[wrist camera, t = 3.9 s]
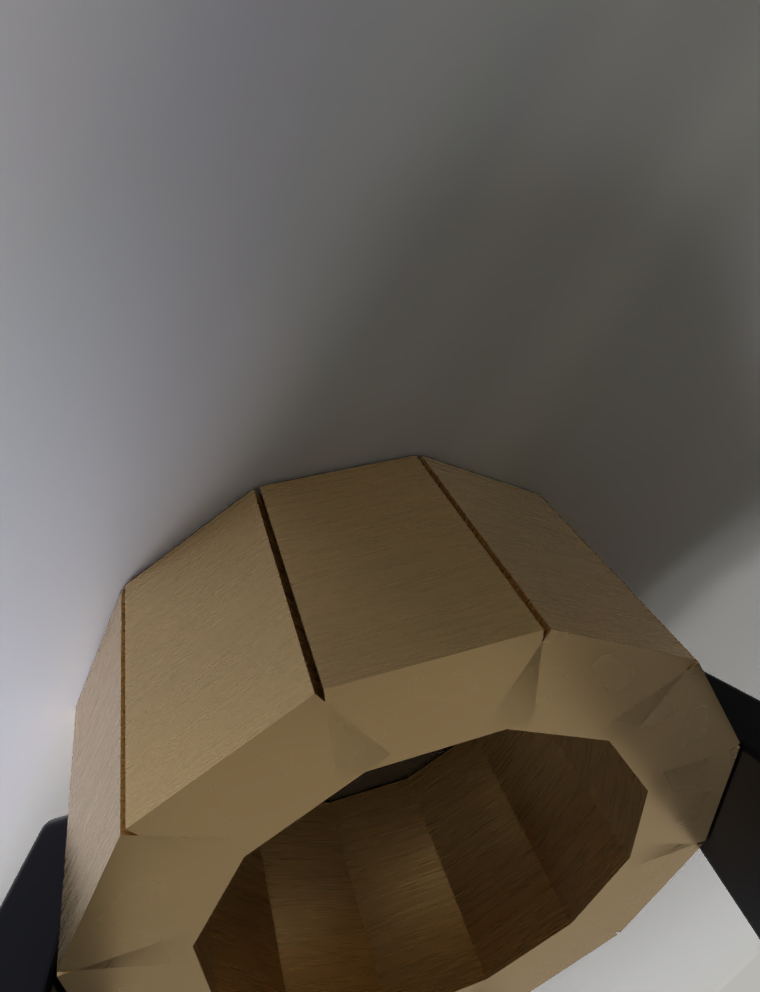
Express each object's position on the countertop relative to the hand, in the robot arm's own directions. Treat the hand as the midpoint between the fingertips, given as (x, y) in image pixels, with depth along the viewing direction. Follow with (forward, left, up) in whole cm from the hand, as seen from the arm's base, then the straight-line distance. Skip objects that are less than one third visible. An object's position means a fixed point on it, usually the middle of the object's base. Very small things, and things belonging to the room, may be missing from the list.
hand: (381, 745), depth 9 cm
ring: (0, 0, -1) cm, 1 cm away
